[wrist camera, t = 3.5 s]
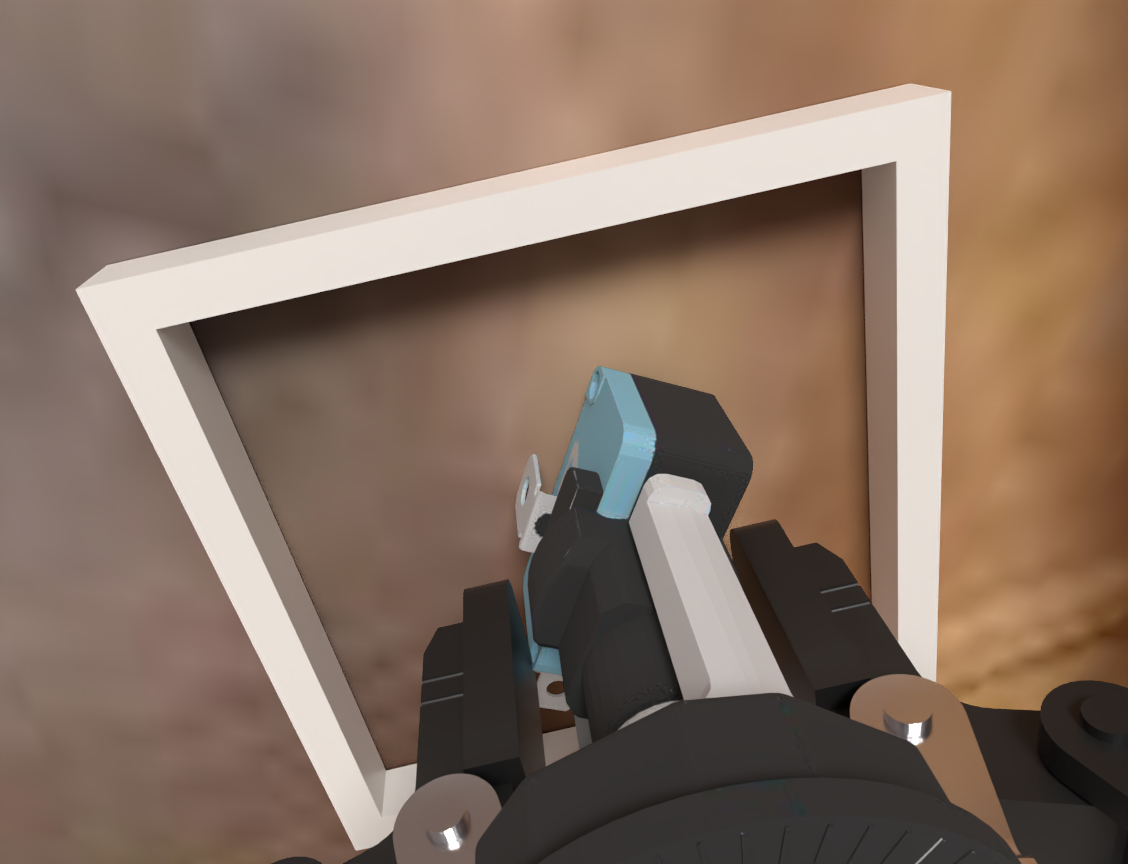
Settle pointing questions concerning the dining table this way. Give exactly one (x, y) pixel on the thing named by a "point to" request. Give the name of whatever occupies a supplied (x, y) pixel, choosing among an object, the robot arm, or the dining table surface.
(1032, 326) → the dining table surface
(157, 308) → the empty frame
